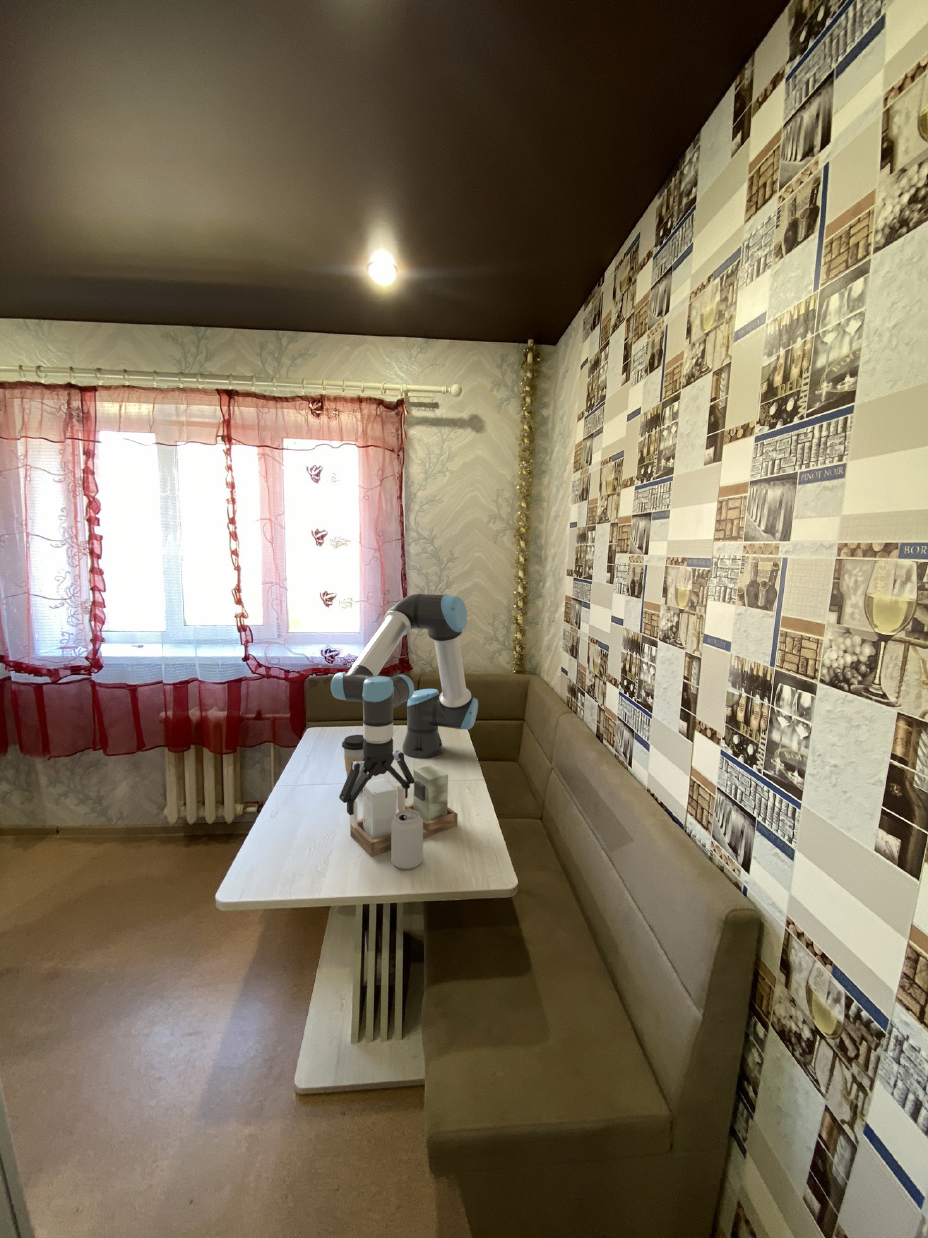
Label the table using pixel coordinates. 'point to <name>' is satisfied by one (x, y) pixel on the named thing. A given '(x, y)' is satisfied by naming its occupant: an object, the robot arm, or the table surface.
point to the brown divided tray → (417, 809)
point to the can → (407, 839)
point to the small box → (378, 808)
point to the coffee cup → (353, 751)
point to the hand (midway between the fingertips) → (378, 818)
